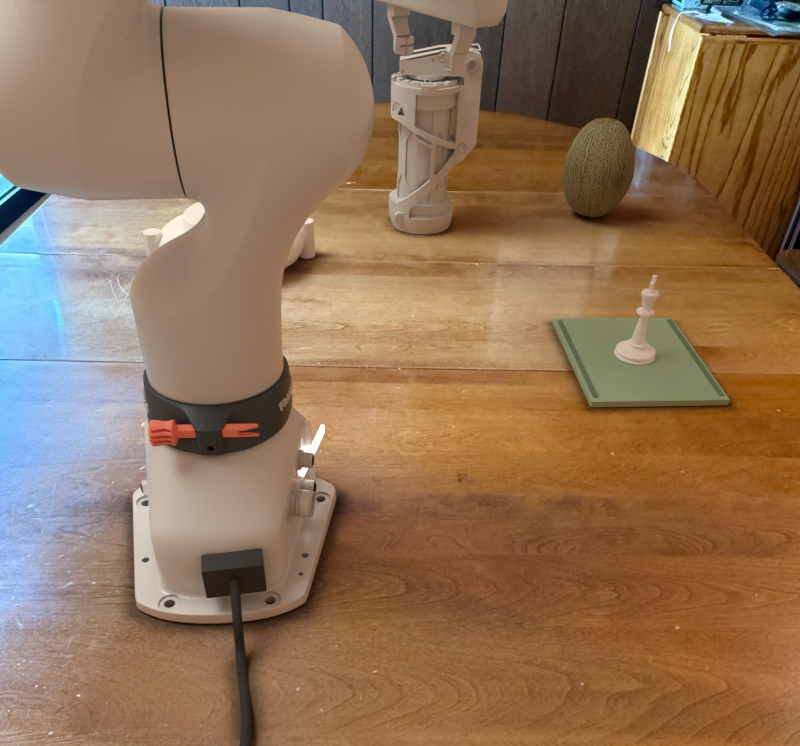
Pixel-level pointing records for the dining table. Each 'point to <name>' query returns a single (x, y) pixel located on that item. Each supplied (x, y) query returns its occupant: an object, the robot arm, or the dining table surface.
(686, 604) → the dining table surface
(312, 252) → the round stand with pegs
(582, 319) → the green rectangular board
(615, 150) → the fruit
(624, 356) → the chess piece
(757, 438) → the dining table surface
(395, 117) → the lantern
